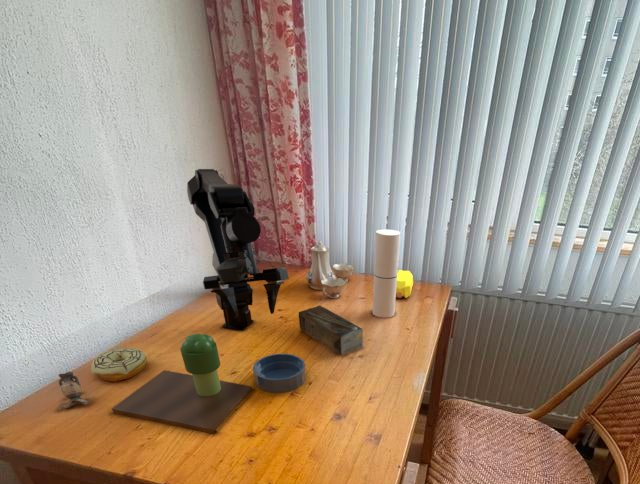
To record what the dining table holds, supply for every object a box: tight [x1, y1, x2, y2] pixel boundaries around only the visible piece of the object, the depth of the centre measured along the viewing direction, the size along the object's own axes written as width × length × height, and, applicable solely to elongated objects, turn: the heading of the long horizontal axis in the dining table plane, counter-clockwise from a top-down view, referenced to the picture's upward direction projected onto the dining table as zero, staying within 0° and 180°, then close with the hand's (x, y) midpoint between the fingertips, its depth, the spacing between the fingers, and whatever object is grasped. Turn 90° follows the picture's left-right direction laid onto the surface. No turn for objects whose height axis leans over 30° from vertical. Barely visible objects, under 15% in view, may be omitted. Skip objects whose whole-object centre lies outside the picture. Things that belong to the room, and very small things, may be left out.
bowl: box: [252, 353, 307, 394], centre depth 88 cm, size 11×11×4 cm
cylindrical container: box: [371, 228, 402, 319], centre depth 117 cm, size 7×7×25 cm
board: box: [111, 369, 254, 435], centre depth 80 cm, size 22×15×1 cm
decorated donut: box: [90, 347, 148, 383], centre depth 87 cm, size 10×11×4 cm
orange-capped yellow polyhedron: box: [396, 269, 414, 299], centre depth 139 cm, size 18×7×8 cm
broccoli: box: [180, 333, 221, 396], centre depth 79 cm, size 7×7×13 cm
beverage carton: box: [298, 305, 364, 355], centre depth 105 cm, size 8×19×7 cm, turn 45°
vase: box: [58, 371, 90, 411], centre depth 77 cm, size 5×5×6 cm
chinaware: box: [305, 240, 355, 299], centre depth 137 cm, size 28×17×17 cm, turn 179°
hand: (254, 315), depth 92 cm, fingers open, 9 cm apart
